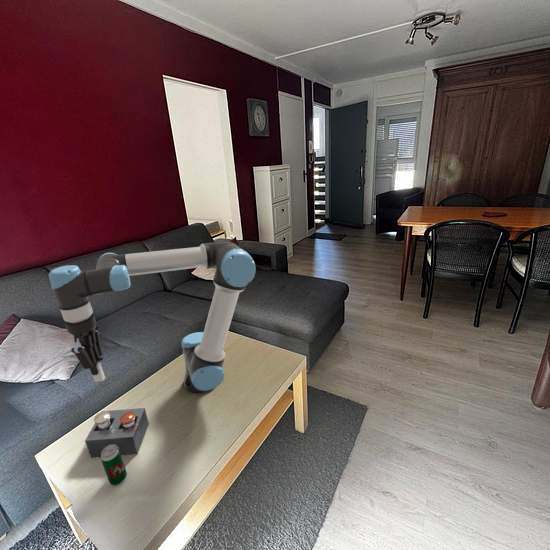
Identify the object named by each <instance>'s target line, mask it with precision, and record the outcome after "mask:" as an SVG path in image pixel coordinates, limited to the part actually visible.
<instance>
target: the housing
mask: <svg viewBox="0 0 550 550" xmlns="http://www.w3.org/2000/svg"><path fill="white" fill-rule="evenodd" d="M103 411H104V410H102V411H101V412H103ZM107 411H108V412H109V413H110V422H111V427H110V429H109V430H103V431H100V430H99V427H98V424H96V423H95V422H94V424H93V426H92V427H91V430H90V431H89V432H88V435H87V437H86V438H85V439H84V443H85V445H86V447H87V451H88V454H89V457H90V458H91V459H96V458H97V459H98V458H99V459H101V458H100V457H101V452H102V450H103V449H104V448H105V447H107V446H108V445H111V444H115V445H116V446H118V447H119V449H120V452H121V456H122V457H123V456H133V455H134V456H135V455H138V454H139V452H140V448H141V446H142V444H143V440H144V439H145V435H146V433H147V430H148V428H149V425H150V424H149V419H148V416H147V412H146V407H140V408H128V409H116V410H115V409H113V410H107ZM126 412H133V413H134V414H135V419H134V421H135V426H134V428H127V429H124V427H123V425H122V424H121V423H120V417H121V416H122V415H123V414H124V413H126Z"/></svg>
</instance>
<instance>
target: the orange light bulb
mask: <svg viewBox="0 0 550 550" xmlns="http://www.w3.org/2000/svg"><path fill="white" fill-rule="evenodd" d="M134 419H135V414H134V413H133V412H126V413H124V414H123V415H122V416H121V417H120V423H121V424H122V425H123V427H124V429H127V428H134V426H135V421H134Z"/></svg>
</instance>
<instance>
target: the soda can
mask: <svg viewBox="0 0 550 550" xmlns="http://www.w3.org/2000/svg"><path fill="white" fill-rule="evenodd" d="M99 459H100V461H101V463H102V466H103V467H102V468H103V469H104V472H105V475H106V478H107V481H108V483H109V485H111V486H117V485H119V484H121V483H123V482H124V480H125V479H126V477H127V475H128V472H127V468H126V466H125V462H124V459H123V456H121V452H120V449H119V447H118V446H116V445H115V444H111V445H108V446H107V447H105V448H104V449H103V450H102V452H101V457H100V458H99Z"/></svg>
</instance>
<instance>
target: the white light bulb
mask: <svg viewBox="0 0 550 550" xmlns="http://www.w3.org/2000/svg"><path fill="white" fill-rule="evenodd" d="M102 411H103V412H102ZM102 411H100V412H99V413H97V414H96V415H95V417H94V419H93V420H94V421H93V422H94V424H95V423H96V424H98V427H99V430H100V431H103V430H109V429H110V427H111V422H110V413H109V412H108V411H109V410H102Z"/></svg>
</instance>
